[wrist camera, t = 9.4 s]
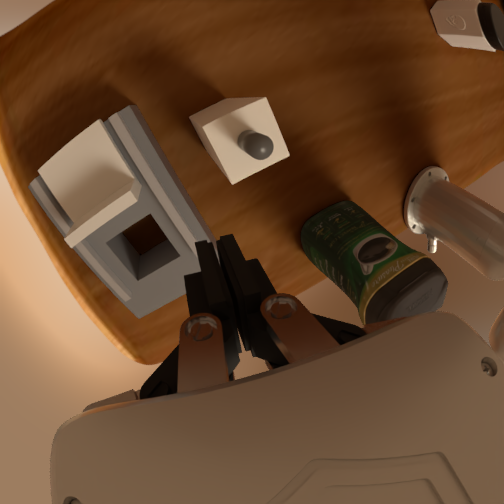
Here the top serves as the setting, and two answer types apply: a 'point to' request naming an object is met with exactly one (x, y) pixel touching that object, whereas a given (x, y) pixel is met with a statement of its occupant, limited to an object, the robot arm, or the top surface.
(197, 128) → the plug
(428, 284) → the coffee jar
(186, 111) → the top surface
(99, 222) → the shutter
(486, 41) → the jar
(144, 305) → the socket block
